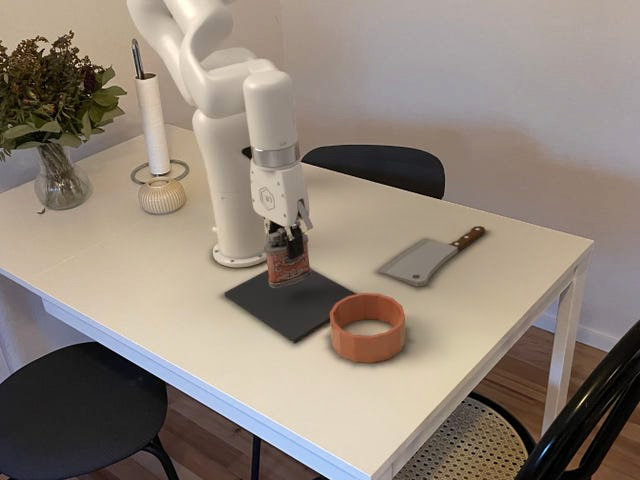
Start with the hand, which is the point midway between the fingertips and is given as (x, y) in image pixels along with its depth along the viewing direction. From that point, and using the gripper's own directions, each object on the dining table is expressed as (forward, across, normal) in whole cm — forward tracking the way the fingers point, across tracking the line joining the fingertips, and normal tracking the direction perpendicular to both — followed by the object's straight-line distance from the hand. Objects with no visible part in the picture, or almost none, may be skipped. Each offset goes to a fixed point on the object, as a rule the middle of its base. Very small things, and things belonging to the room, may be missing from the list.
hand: (287, 250), depth 115 cm
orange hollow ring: (+10, +18, +1) cm, 21 cm away
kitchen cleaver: (+10, +9, +29) cm, 32 cm away
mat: (+10, 0, 0) cm, 10 cm away
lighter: (+6, 0, 0) cm, 6 cm away
